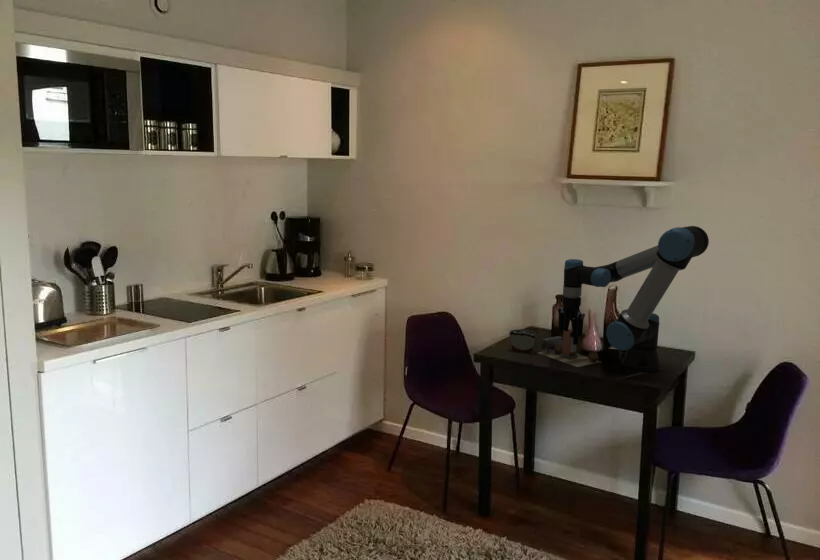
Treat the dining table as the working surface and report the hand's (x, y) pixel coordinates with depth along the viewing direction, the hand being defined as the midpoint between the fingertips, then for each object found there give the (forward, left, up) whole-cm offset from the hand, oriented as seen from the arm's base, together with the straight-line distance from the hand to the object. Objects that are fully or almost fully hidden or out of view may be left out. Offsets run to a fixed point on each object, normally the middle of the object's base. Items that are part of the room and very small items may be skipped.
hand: (569, 350), depth 293 cm
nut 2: (-9, -4, -3) cm, 11 cm away
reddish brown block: (0, 0, -3) cm, 3 cm away
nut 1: (+6, 0, -3) cm, 7 cm away
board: (0, 0, -4) cm, 4 cm away
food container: (+17, +10, -4) cm, 20 cm away
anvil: (+8, 0, -3) cm, 9 cm away
